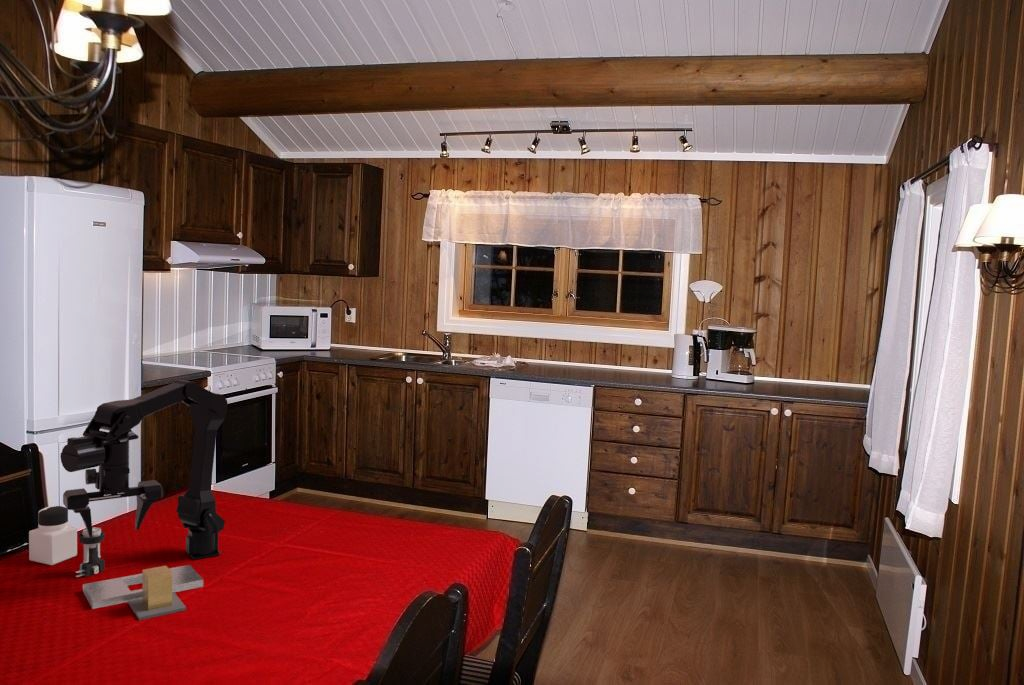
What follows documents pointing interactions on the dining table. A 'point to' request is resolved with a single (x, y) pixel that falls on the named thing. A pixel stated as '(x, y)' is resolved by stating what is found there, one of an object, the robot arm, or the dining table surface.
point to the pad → (145, 614)
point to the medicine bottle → (52, 537)
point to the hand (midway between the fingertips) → (114, 533)
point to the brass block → (157, 588)
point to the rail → (120, 593)
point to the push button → (91, 552)
